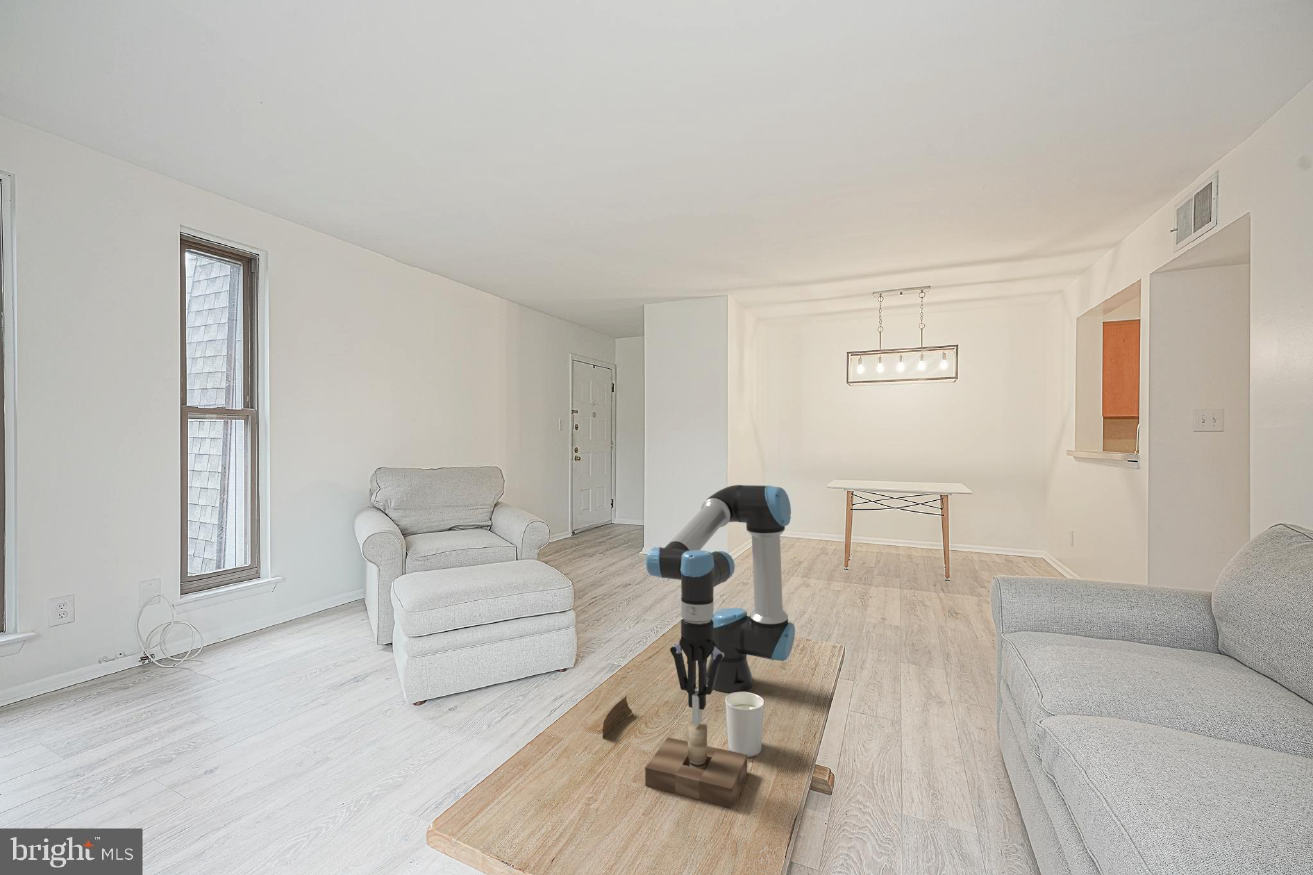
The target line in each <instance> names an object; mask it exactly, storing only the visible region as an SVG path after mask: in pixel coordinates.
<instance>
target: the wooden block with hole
mask: <svg viewBox="0 0 1313 875" xmlns="http://www.w3.org/2000/svg"><path fill="white" fill-rule="evenodd" d="M644 768H645V770H644V774H645V775H644V777H645V778H644V780H645V782H644V785H645V786H647V787H651V788H654V789H659V790H661V791H665V792H670V793H673V794H676V795H680V796H685V797H687V798H692V799H697V800H700V801H704V802H708V803H710V804H711V803H712V804H715V805H720V806H723V807H727V808H733V805H734V804H735V801H736V799H737V797H738V794H739V792H740V790H741V786H742V784H743V782H744V780H745V778H746V775H747V772H748V757H747V755H746V754H742V753H737V752H733V751H730V750H727V749H722V748H718V747H715V746H709V745H707V759H706V763H705V770H702V769H698V768H694V767H690V759H689V758H688V740H682V739H678V738H673V737H670V736H667V737H666V739H665V741H663V743H662V744H661V746H660V747H659V749H658V750H657V751H656V752H655V754H654V755H653V757H652V758H651V759H650V761H649V762H648V763H647V765H646V766H645V767H644Z"/></svg>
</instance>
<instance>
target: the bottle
mask: <svg viewBox="0 0 1313 875" xmlns="http://www.w3.org/2000/svg"><path fill="white" fill-rule="evenodd" d="M687 742H688V758H689V759H690V767H694V768H698V769H702V770H705V763H706V759H707V746H708V725H707V724H706V723H705V722H703V721H701V722H700V724H699V725H694V724H692V721H691V722H689V723H688V724H687Z"/></svg>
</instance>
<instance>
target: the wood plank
mask: <svg viewBox="0 0 1313 875" xmlns="http://www.w3.org/2000/svg"><path fill="white" fill-rule="evenodd" d="M632 713H633V710H632V709H631V708H630V707H629V704H628V701H627V695H625V697H624V698H622V699H621V700H620V701H618V702H617V703H615V705H614V706H613V707H612V708H611V709H610V711H609V712H608V713H607V715H606V717H605V718H604V720H603V724H602V725H603V726H602V729H601V731H602V739H604V738H605V737H606V736H607V735H608V733H609V732H610V731H611V730H612V729H613V728H614V727H615V726H616V725H618V723H621V721H622V720H623V719H626V718H627V717H629V716H631V715H632ZM604 736H605V737H604Z"/></svg>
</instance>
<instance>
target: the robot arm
mask: <svg viewBox="0 0 1313 875" xmlns="http://www.w3.org/2000/svg"><path fill="white" fill-rule="evenodd" d="M791 515H792V508H791V502H790V497H789V494H788V493H787V492H786V490H785V489H784V488H782V487H779V486H772V485H754V484H753V485H745V484H743V485H742V484H735V485H730V486H726V487H724V488H723V489H719V490H718V491H716V492H715V493H713V494H712V495H710V496H709V497H708V498H706V500H705V501H703V503H702V505H701V507H700V510H699V512H697V513H696V515H694V516H693V518H692V519H691V520H690V521H689V522H688V523H686V525H685V526H684V527H683V528H682V529H681V530H680V531H679V532H678V533H677V534H676V535H675V536H674V537H673V538H672V540H671V541H669V543H668V544H666V546H665V547H661V546H658V547H656V546H655V547H654V546H653V547H652V548H650V550H648V553H647V554H646V557H645V565H646V571H647V572H648V574H649V575H650V576H653V577H656V578H657V577H658V578H661V579H669V580H670V579H671V580H679V581H681V582H680V585H681V586H680V587H681V588H680V591H681V594H680V595H681V598H680V617H681V618H682V619H681V620H680V636H681V637H680V639H679V641H678V643H677V644H676V643H675V644H673V645H672V646H671V647H670V649H669V652H670V653H671V655H672V657H673V659H674V665H675V669H676V673H677V678H678V683H679V688H680V690H681V691H685V692H687V695H688V696H687V697H688V704H687V705H688V707H689V708H691V712H692V713H691V716H692V717H691V719H692V721H691V722H692V724H694V725H699V724H700V722H703V711H704V710H705V709H706V706H707V695H708V696H710V695H711V694H713V693H712V692H713V691H719V692H724V693H735V692H746V691H747V690H750V688H752V686H753V674H752V672H751V669H750V665H749V663H748V657H747V656H752V657H757V658H762V659H765V660H771V661H777V662H778V661H779V662H784V661H787V659H788V658H789V657H790V654H791V652H792V649H793V647H794V643H795V642H794V641H795V634H796V627H795V624H794V622H793V623H792V622H791V621H789V614H788V613H787V612H786V611H785V610H783V608H784V607H783V586H782V585H783V583H782V582H783V581H782V555H781V554H782V553H781V551H782V550H781V535H782V534H783V533H784V532H785V530H786V528H785V527H786V526H788V525H789V524H790V521H791V518H792V517H791ZM728 523H743V524H746V526H745V527H746V528H745V529H746V531H747V532H748V533H749V535H751V547H752V548H751V550H752V572H753V573H752V574H753V577H752V578H753V598H754V600H753V601H754V602H753V603H754V605H753V606H754V609H753V610H752V611H751V612H750V614H749V615H748V612H747V610H746V609H743V608H741V607H728V608H727V607H726V608H723V609H718V610H716V611H714V589H715V587H717V586H718V585H720V584H723V583H726V582H727V581H728V580H729V579H730V578H731V577H733V575H734V572H735V568H736V564H735V560H734V559H733V557H732V556H731V555H730V554H729V553H728V552H726V551H723V550H718V551H715V550H714V551H712V552H710V551H708V550H702V549H703V548H704V547H705V546H706V544H707V543H708V542H709V541H710V539H711V538H712V537H713V536H714V534H716V532H718V530H719V529H720V528H723V527H725V526H726V525H727V524H728ZM683 653H684V655H685V657H686V664H687V669H686V665H685V661H684V660H685V659H684V656H683ZM709 657H710V659H709ZM708 659H709V662H708ZM707 663H708V664H707ZM697 668H698V676H697ZM697 677H698V678H697ZM697 679H698V684H697ZM697 685H698V687H697ZM697 688H698V689H697ZM696 689H697V690H696Z"/></svg>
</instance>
